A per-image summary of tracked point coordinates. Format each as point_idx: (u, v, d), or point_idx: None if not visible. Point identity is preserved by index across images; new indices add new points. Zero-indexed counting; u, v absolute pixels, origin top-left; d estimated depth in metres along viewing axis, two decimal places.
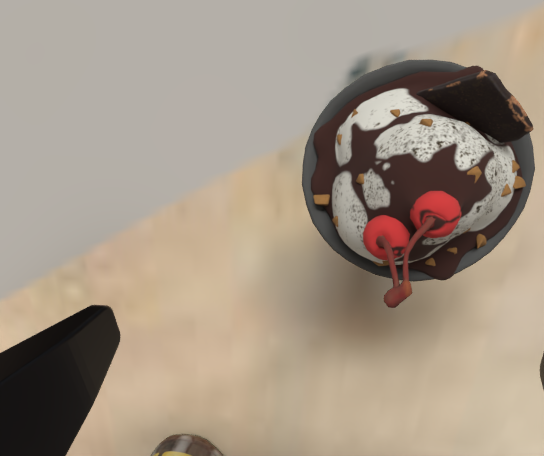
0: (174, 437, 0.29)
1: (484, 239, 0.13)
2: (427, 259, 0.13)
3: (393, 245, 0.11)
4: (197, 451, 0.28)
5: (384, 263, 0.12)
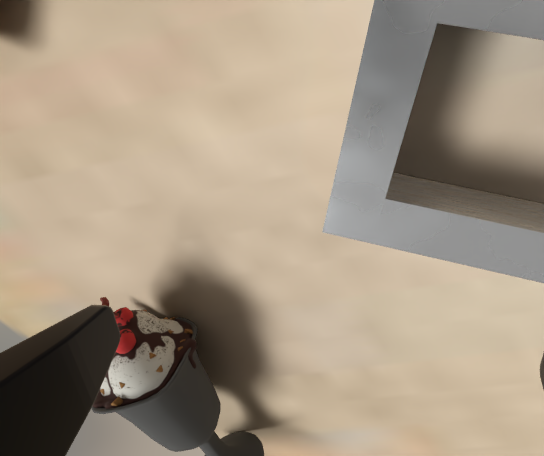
0: None
1: (186, 329, 0.24)
2: (177, 349, 0.22)
3: (120, 331, 0.21)
4: None
5: (150, 356, 0.21)
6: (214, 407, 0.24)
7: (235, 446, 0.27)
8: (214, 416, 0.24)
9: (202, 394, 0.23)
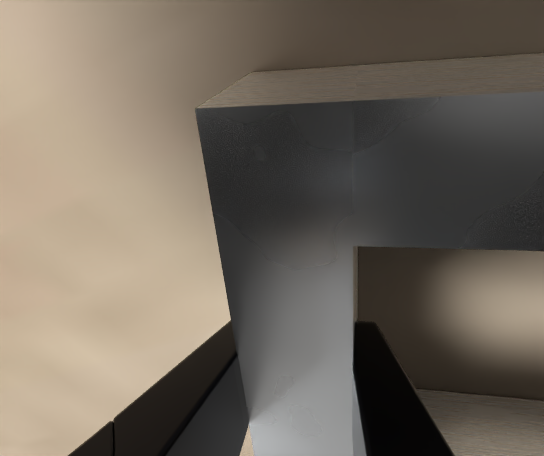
0: None
1: None
2: None
3: None
4: None
5: None
6: None
7: None
8: None
9: None
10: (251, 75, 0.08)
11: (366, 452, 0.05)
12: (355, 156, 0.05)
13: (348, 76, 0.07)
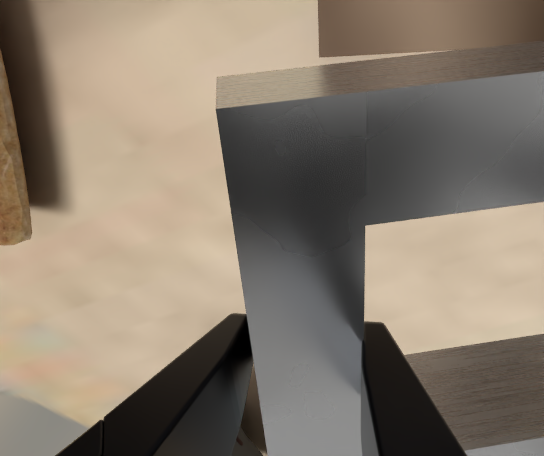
0: None
1: None
2: None
3: None
4: None
5: None
6: None
7: None
8: None
9: None
10: (222, 79, 0.08)
11: (379, 454, 0.05)
12: (368, 142, 0.06)
13: (326, 74, 0.07)
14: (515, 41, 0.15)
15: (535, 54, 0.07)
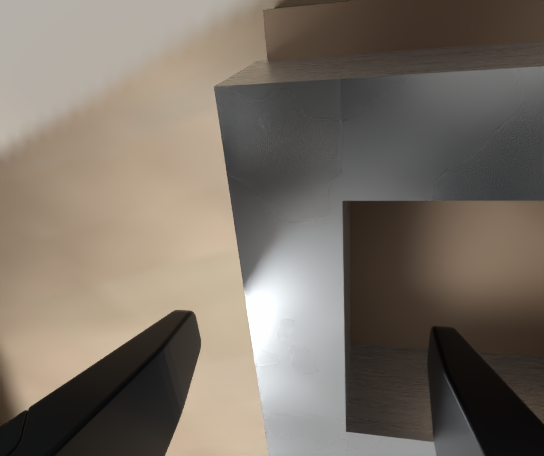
0: None
1: None
2: None
3: None
4: None
5: None
6: None
7: None
8: None
9: None
10: (257, 63, 0.09)
11: None
12: (343, 124, 0.07)
13: (339, 62, 0.08)
14: None
15: None
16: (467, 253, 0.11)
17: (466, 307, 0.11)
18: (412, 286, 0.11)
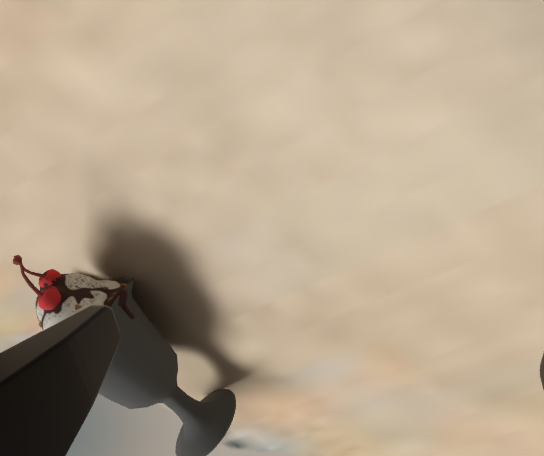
0: None
1: (121, 283, 0.24)
2: (107, 300, 0.22)
3: (44, 289, 0.21)
4: None
5: (75, 307, 0.21)
6: (165, 358, 0.24)
7: (207, 402, 0.27)
8: (167, 367, 0.24)
9: (146, 344, 0.23)
10: None
11: None
12: None
13: None
14: None
15: None
16: None
17: None
18: None
